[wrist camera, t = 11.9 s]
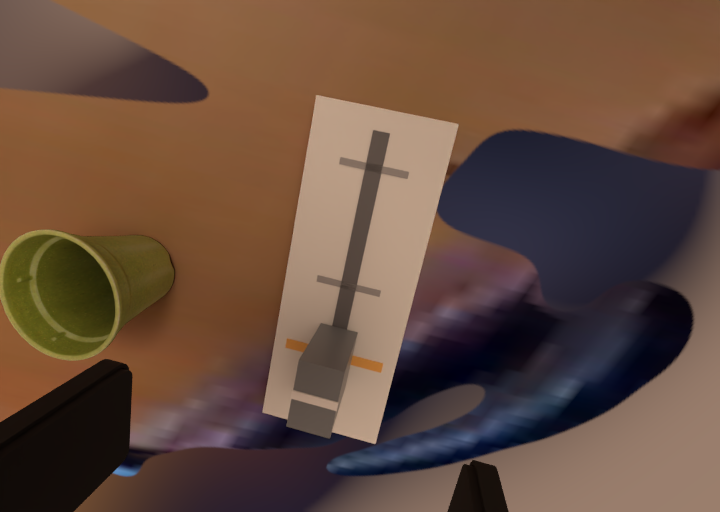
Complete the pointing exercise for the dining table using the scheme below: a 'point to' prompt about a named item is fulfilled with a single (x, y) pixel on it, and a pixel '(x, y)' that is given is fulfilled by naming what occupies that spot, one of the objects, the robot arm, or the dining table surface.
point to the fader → (321, 380)
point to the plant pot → (80, 288)
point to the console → (358, 248)
